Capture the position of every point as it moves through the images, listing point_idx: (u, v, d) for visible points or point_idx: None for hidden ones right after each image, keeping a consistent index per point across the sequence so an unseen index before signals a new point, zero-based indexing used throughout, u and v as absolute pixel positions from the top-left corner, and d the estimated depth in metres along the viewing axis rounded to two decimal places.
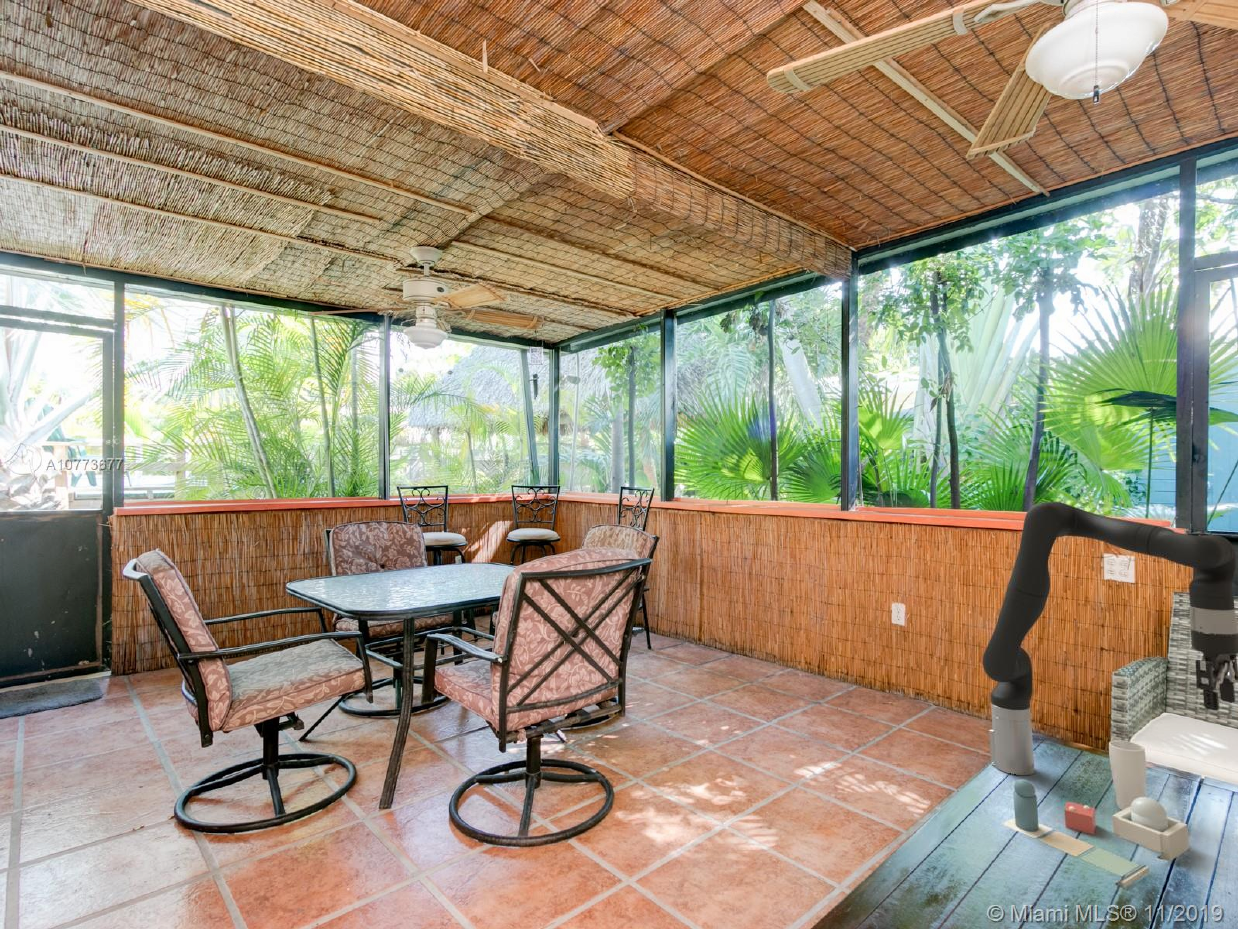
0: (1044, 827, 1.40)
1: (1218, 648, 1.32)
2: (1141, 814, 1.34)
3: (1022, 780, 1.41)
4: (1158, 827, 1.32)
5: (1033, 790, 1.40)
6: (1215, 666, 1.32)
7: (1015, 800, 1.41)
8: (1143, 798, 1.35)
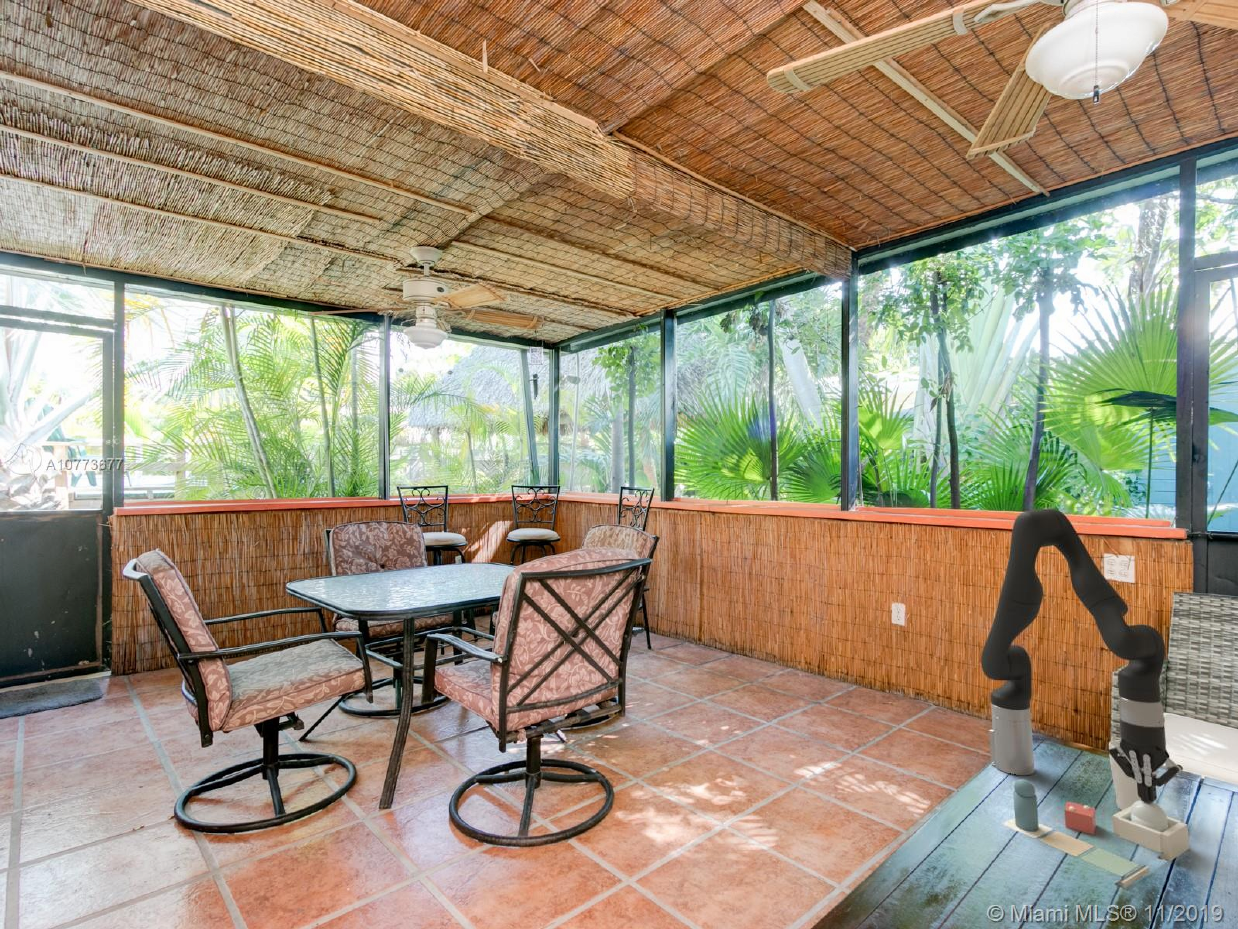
0: (1044, 827, 1.40)
1: None
2: (1142, 817, 1.34)
3: (1022, 780, 1.41)
4: (1158, 830, 1.32)
5: (1033, 790, 1.40)
6: None
7: (1015, 800, 1.41)
8: (1143, 801, 1.35)
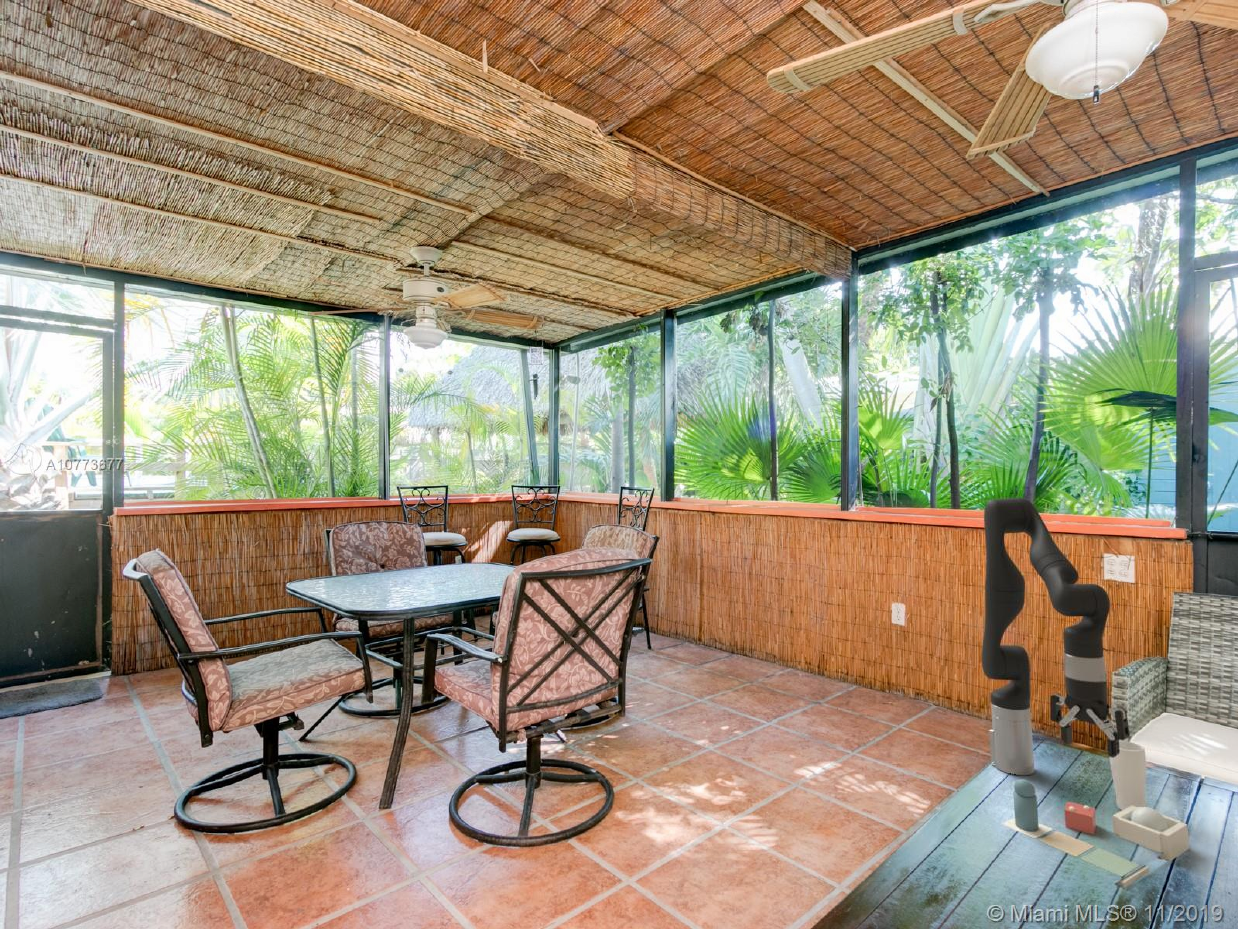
0: (1044, 827, 1.40)
1: (1107, 693, 1.37)
2: (1142, 824, 1.34)
3: (1022, 780, 1.41)
4: None
5: (1033, 790, 1.40)
6: None
7: (1015, 800, 1.41)
8: (1144, 808, 1.35)
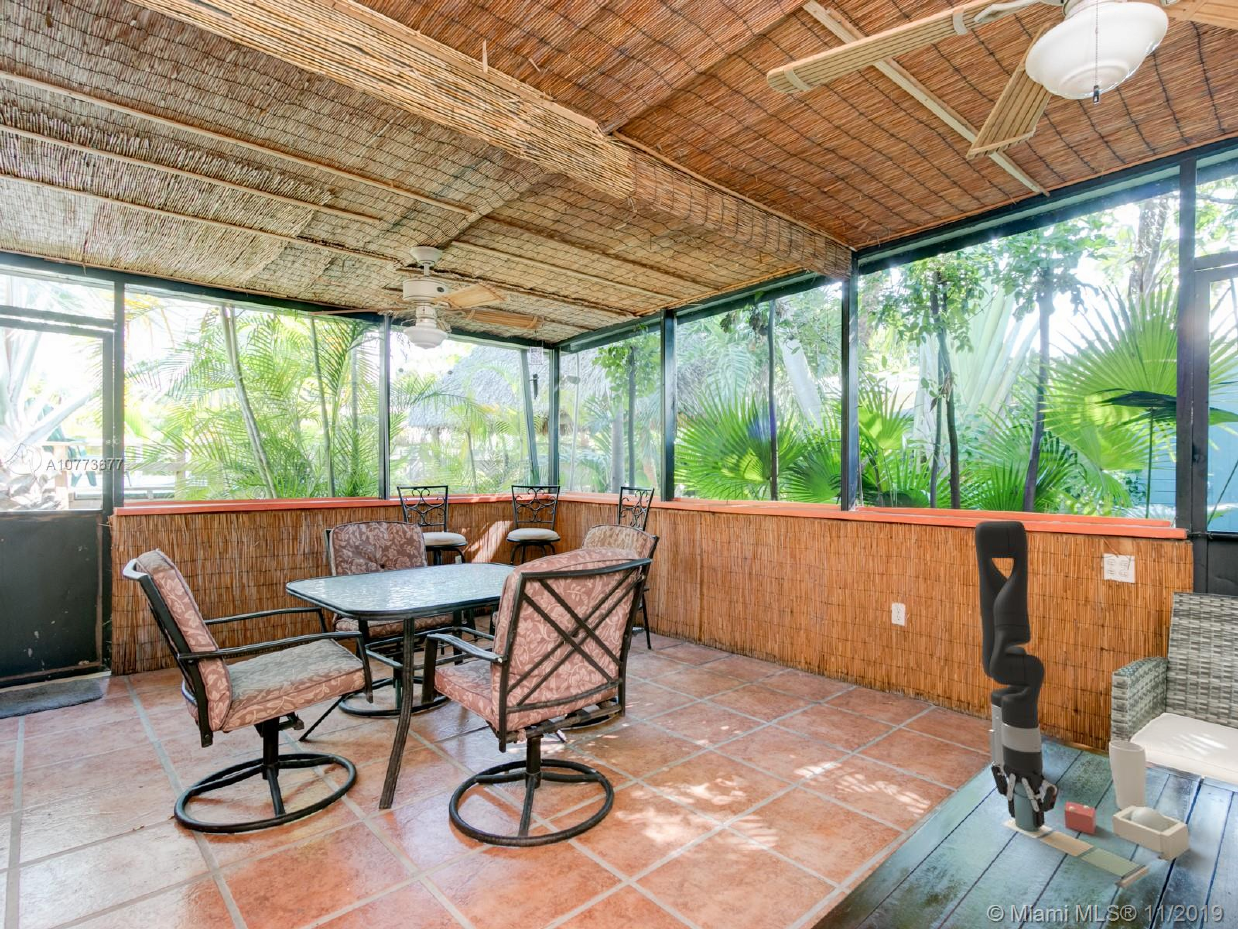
0: (1044, 827, 1.40)
1: (1042, 762, 1.39)
2: (1142, 824, 1.34)
3: None
4: None
5: None
6: None
7: (1015, 800, 1.41)
8: (1144, 808, 1.35)
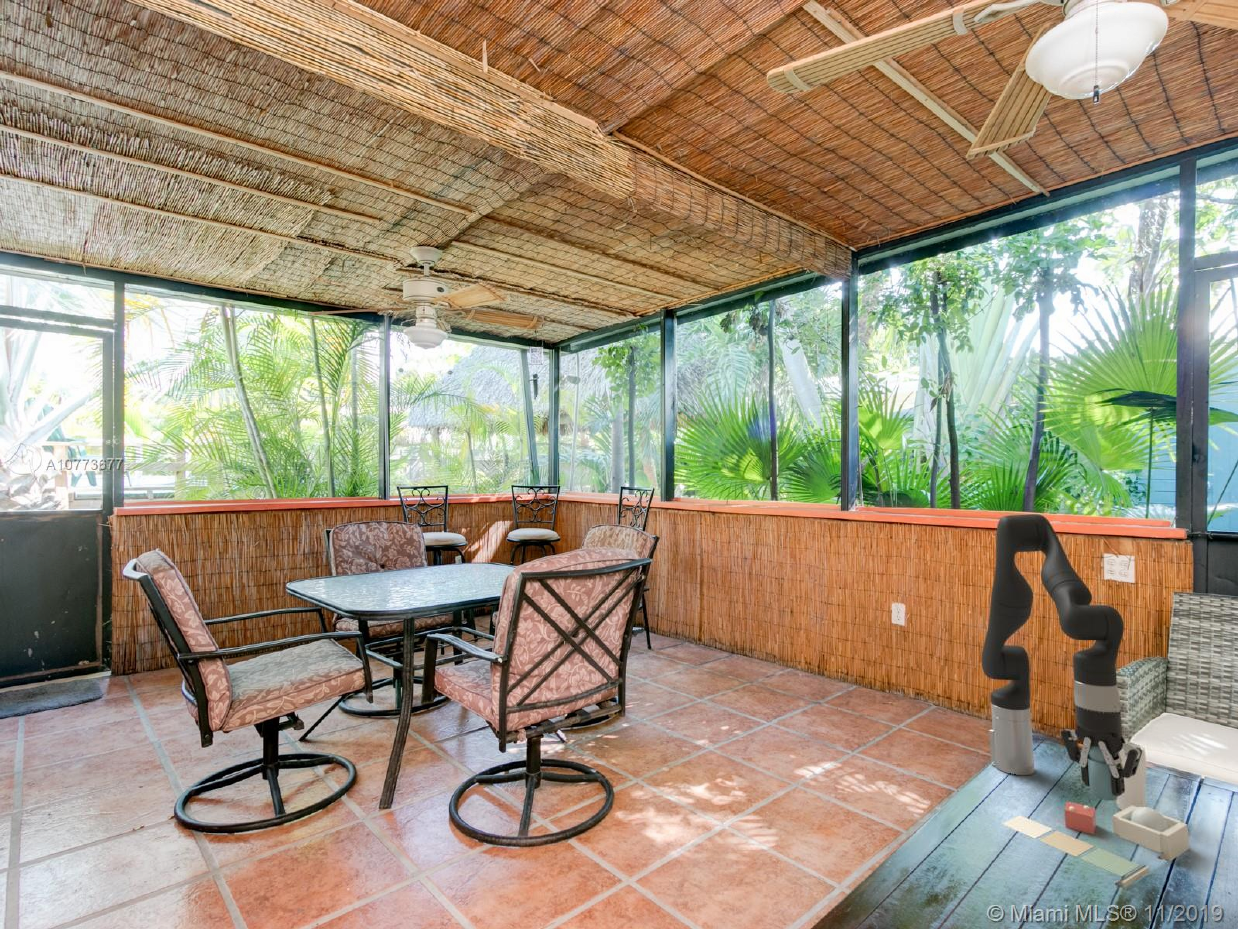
0: (1044, 827, 1.40)
1: (1121, 724, 1.26)
2: (1142, 824, 1.34)
3: None
4: None
5: None
6: None
7: (1090, 766, 1.28)
8: (1144, 808, 1.35)
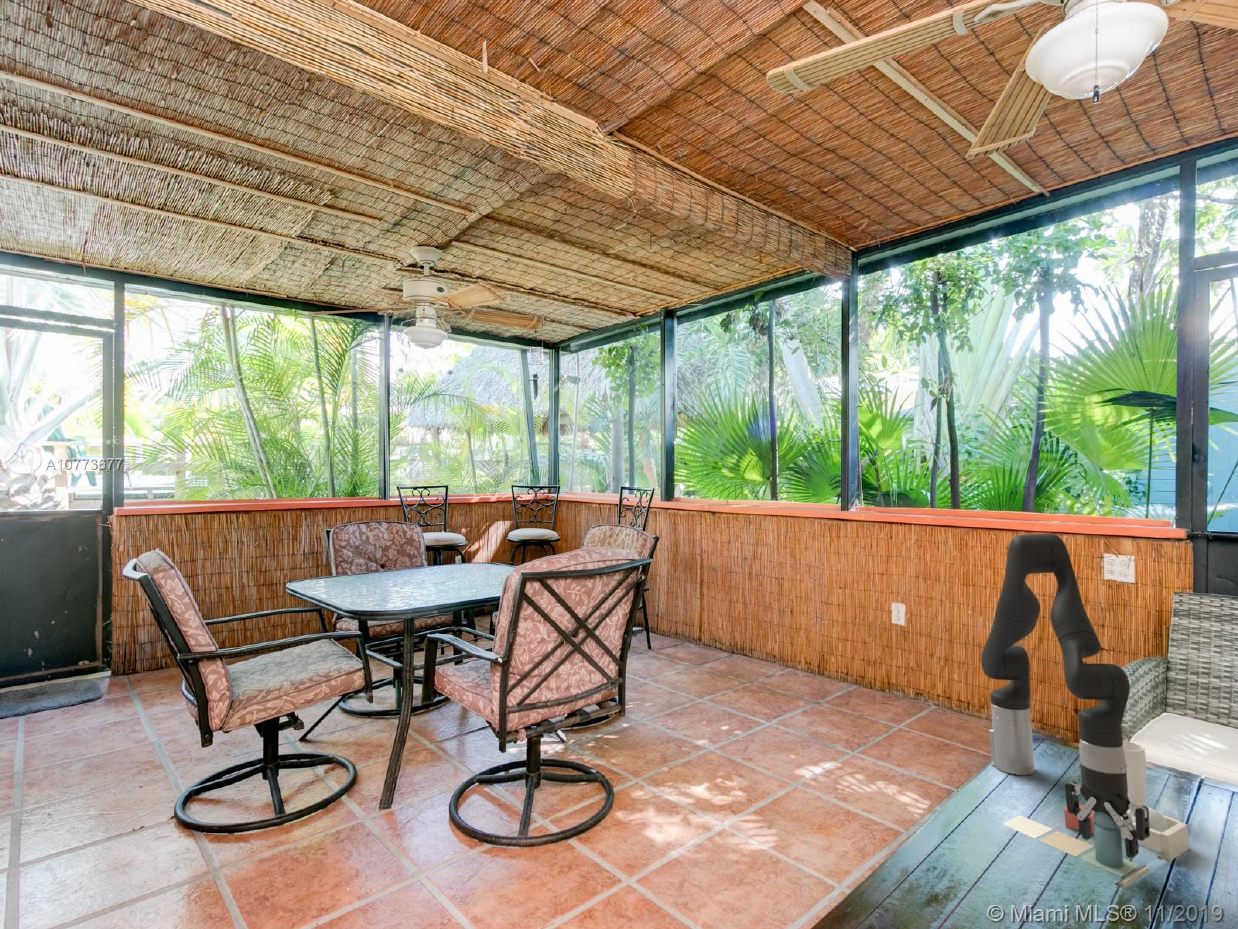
0: (1044, 827, 1.40)
1: (1127, 785, 1.25)
2: None
3: None
4: None
5: None
6: None
7: (1096, 832, 1.27)
8: None
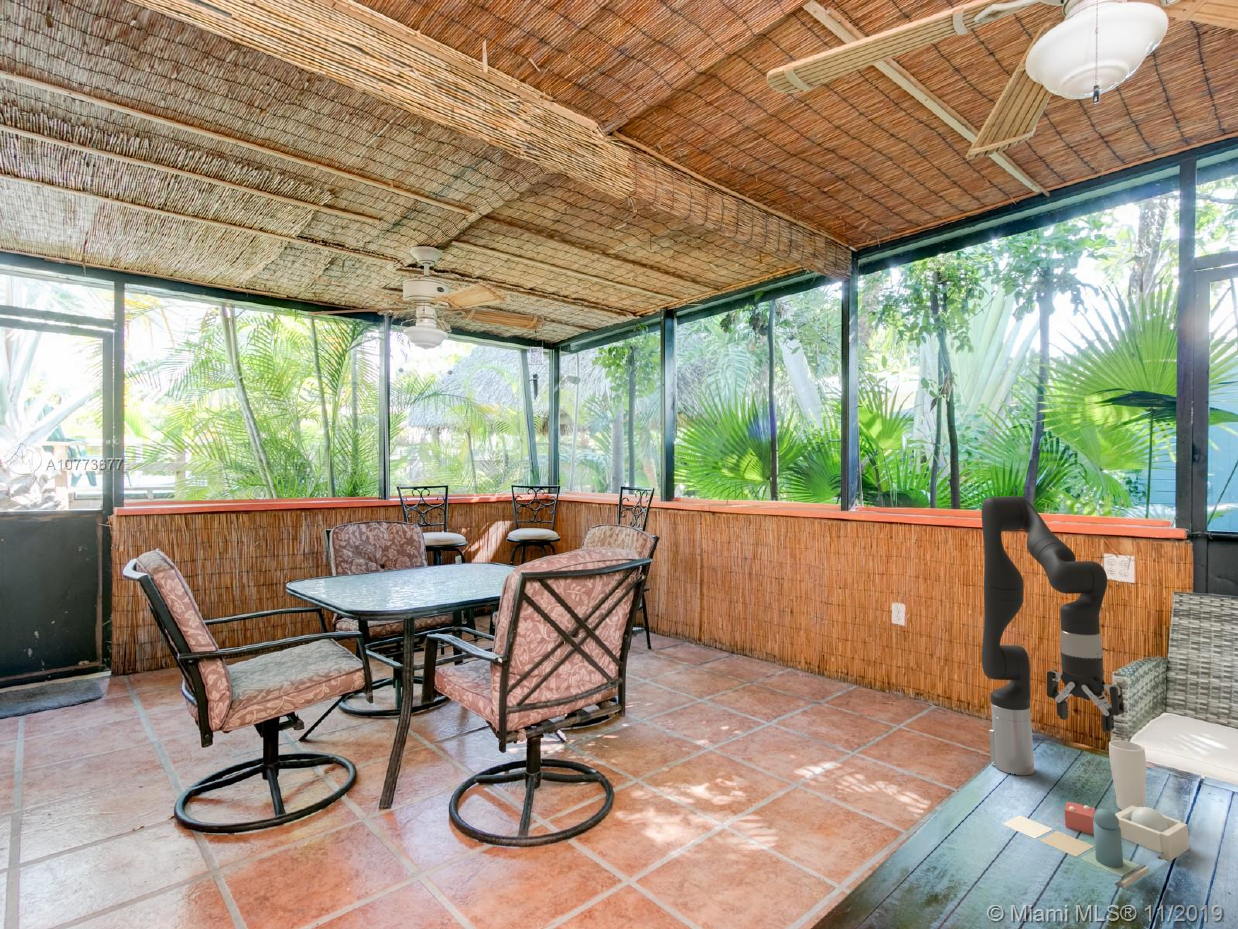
0: (1044, 827, 1.40)
1: None
2: (1142, 824, 1.34)
3: (1104, 810, 1.27)
4: None
5: (1117, 822, 1.26)
6: None
7: (1096, 832, 1.27)
8: (1144, 808, 1.35)
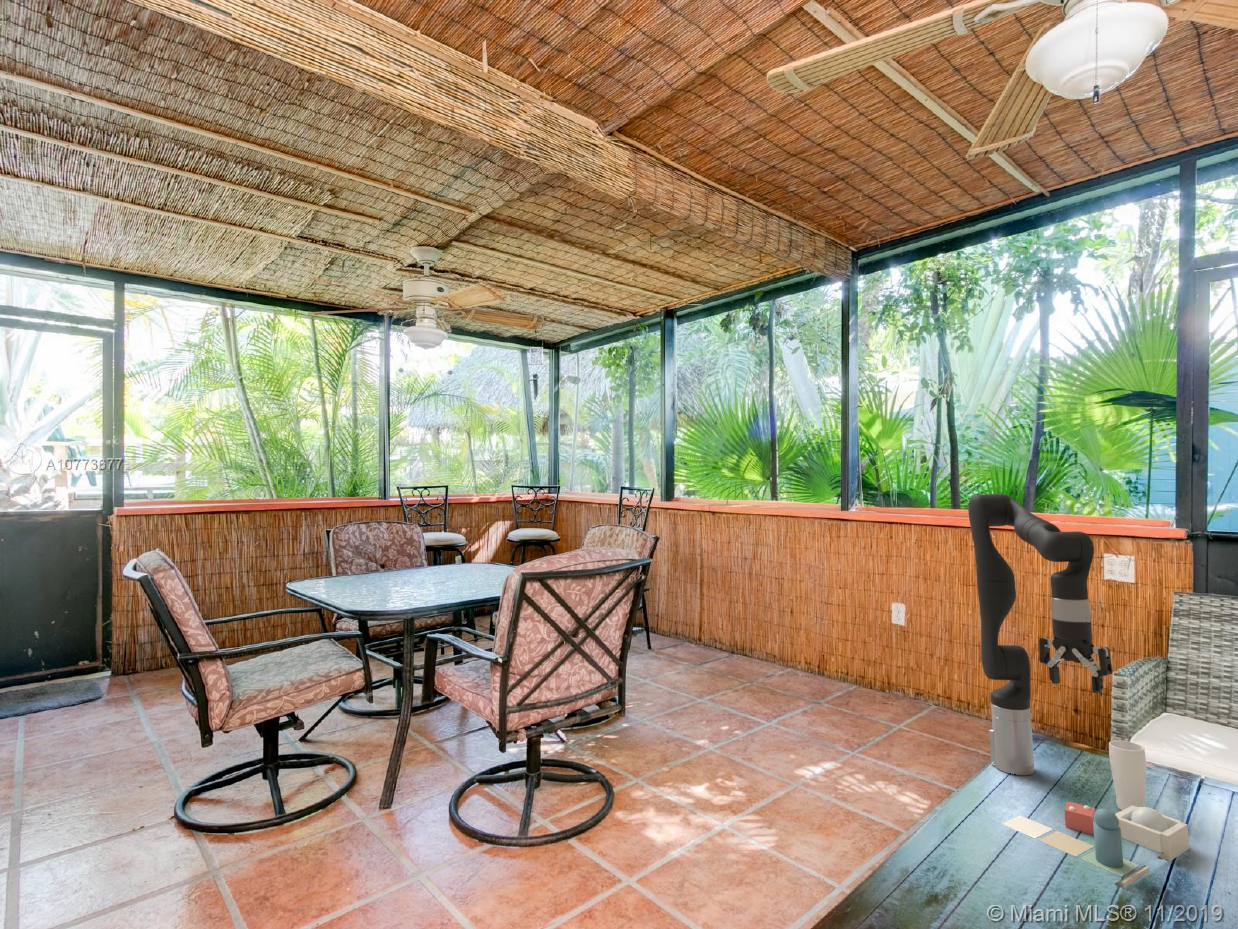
0: (1044, 827, 1.40)
1: None
2: (1142, 824, 1.34)
3: (1104, 810, 1.27)
4: None
5: (1117, 822, 1.26)
6: None
7: (1096, 832, 1.27)
8: (1144, 808, 1.35)
